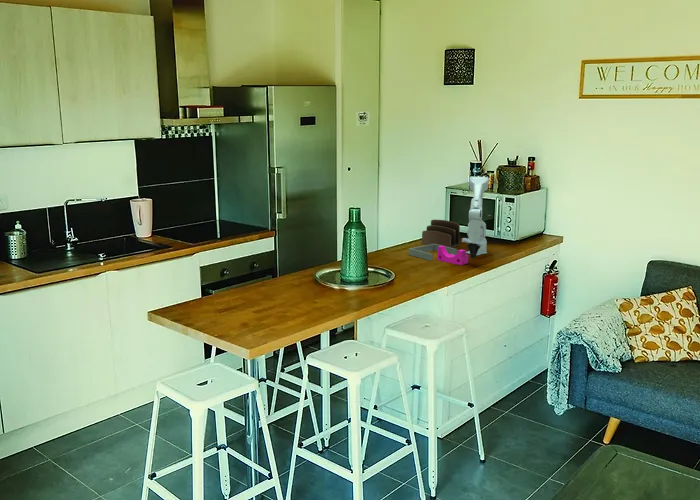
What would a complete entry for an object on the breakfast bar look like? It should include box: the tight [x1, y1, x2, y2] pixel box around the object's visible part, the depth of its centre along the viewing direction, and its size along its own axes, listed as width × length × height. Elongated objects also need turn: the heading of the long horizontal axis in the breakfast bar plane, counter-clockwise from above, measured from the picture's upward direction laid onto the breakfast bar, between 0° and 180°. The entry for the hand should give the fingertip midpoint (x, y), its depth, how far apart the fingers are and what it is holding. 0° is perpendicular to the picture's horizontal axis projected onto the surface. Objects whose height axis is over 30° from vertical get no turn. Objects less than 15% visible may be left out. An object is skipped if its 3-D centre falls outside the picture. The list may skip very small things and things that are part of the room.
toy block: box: [437, 246, 469, 266], centre depth 357 cm, size 15×6×8 cm, turn 47°
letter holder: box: [421, 219, 461, 249], centre depth 396 cm, size 10×20×14 cm, turn 50°
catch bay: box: [408, 244, 458, 262], centre depth 371 cm, size 20×17×4 cm
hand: (473, 258), depth 349 cm, fingers closed
